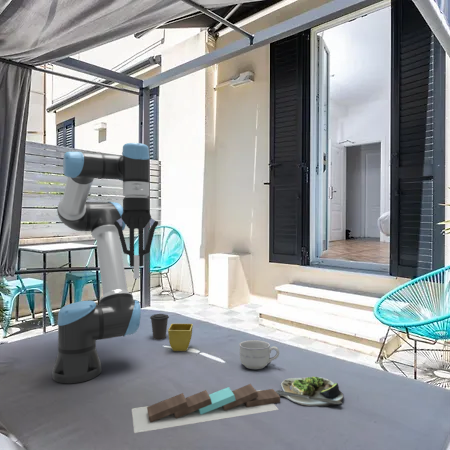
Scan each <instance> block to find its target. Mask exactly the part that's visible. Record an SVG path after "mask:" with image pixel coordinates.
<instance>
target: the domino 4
mask: <svg viewBox="0 0 450 450" xmlns="http://www.w3.org/2000/svg"><path fill="white" fill-rule="evenodd" d="M231 391H232V392H233V394H234V396H235V400H236V401H233V402H231V403H228V404H226V405H223V406H222V408H223V409H224V411H226V410H228V409H231V408H233V407H235V406H238V405H240V404H242V403H245V402H247V401H250V400H252V399H254V398H257V397H258V394H257V391H258V390H256V389H255V387H254V386H253V385H252V384H251V383H249V384H247V385H244V386H242V387H239V388H237V389H234V390H231Z"/></svg>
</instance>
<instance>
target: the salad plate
mask: <svg viewBox="0 0 450 450" xmlns="http://www.w3.org/2000/svg"><path fill="white" fill-rule="evenodd" d="M280 386H281V390H280V389H279V390H275V392H276V393H277V394H278V395H279V396H280V397H284V398H286V399H288V400H290V401H291V402H294V403H295V404H298V405H301V406H306V407H307V406H309V407H312V406H313V407H314V406H317V407H321V406H323V407H327V406H328V407H329V406H337V405H341V404H343V399H344V394H343V392H342V391H341V390H340V386H339V384H338V383H337V382H333V381H332V380H330V379H328V378H325V377H321V376H308V377H288V378H286V379H284V380H283V381H281V383H280Z"/></svg>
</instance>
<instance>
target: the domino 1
mask: <svg viewBox="0 0 450 450" xmlns="http://www.w3.org/2000/svg"><path fill="white" fill-rule="evenodd" d="M185 398H186V397H185V394H184V393H183V392H182V393H180V394H176V395H174V396H171V397H169V398H167V399H164V400H162V401H158V402H157V403H154V404H152V405H148V406H149V407H147V410H148V416H149V420H150V423H151V422H153V421H156V420H158V419H160V418H163V417H165V416H168V415H170V414H173V413H175V412H178V411H180V410H183V409H185V408H188V405H187V401H186V399H185Z"/></svg>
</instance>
